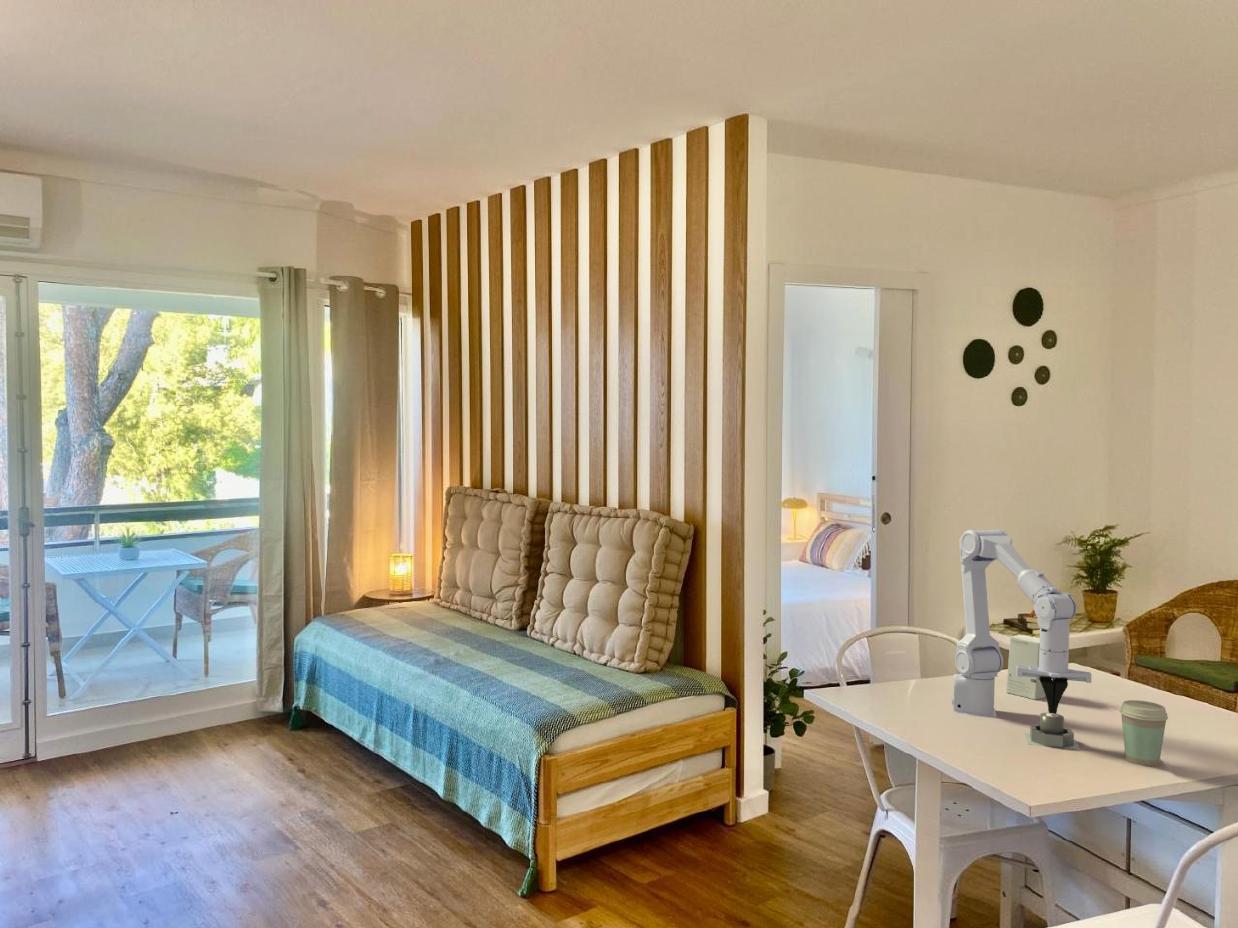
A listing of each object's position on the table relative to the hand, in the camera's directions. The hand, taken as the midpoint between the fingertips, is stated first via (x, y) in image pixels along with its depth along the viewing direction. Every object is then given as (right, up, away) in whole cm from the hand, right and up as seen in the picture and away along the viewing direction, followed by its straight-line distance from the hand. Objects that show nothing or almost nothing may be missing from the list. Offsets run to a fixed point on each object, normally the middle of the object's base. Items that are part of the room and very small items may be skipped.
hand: (1052, 712), depth 200 cm
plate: (0, -7, 0) cm, 7 cm away
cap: (0, -6, 0) cm, 6 cm away
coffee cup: (+13, -8, -12) cm, 19 cm away
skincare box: (+12, -6, +39) cm, 42 cm away
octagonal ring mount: (0, -6, 0) cm, 6 cm away
